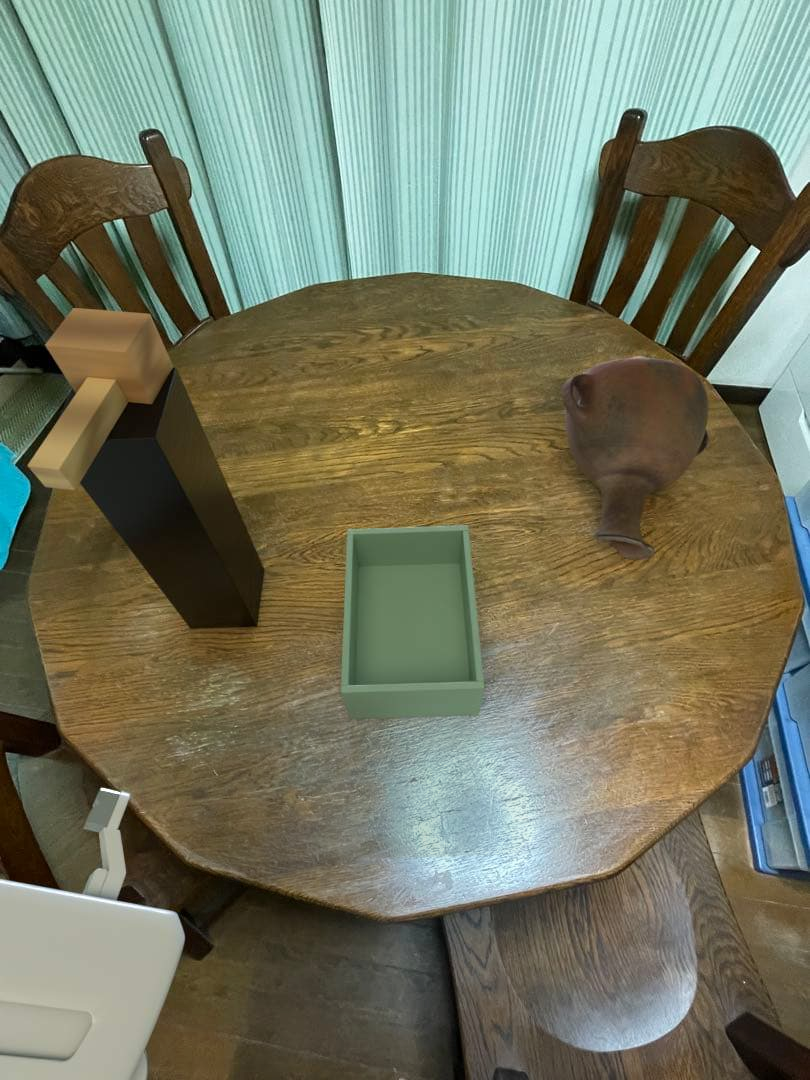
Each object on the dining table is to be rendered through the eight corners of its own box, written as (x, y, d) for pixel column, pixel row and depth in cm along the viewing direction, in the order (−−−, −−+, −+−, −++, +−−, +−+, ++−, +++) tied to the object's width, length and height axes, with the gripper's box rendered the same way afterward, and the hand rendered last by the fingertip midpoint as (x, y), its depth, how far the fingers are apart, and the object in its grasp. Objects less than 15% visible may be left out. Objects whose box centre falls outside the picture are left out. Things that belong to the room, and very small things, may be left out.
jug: (575, 406, 100) (545, 565, 89) (572, 318, 84) (535, 499, 72) (707, 411, 93) (693, 584, 82) (732, 315, 77) (720, 517, 65)
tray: (478, 715, 71) (484, 688, 64) (349, 719, 72) (340, 692, 64) (464, 564, 84) (468, 525, 76) (354, 567, 84) (347, 529, 76)
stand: (257, 626, 79) (155, 438, 49) (190, 629, 79) (48, 442, 49) (264, 569, 84) (176, 366, 54) (201, 571, 84) (79, 370, 54)
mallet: (101, 494, 46) (65, 444, 41) (19, 484, 47) (-26, 434, 42) (173, 366, 54) (150, 313, 49) (102, 360, 55) (73, 307, 50)
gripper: (128, 1213, 21) (238, 806, 30) (-720, 1197, 14) (-256, 680, 23) (104, 1172, 25) (206, 828, 34) (-554, 1146, 19) (-217, 728, 28)
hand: (15, 767), depth 29 cm, fingers open, 8 cm apart
